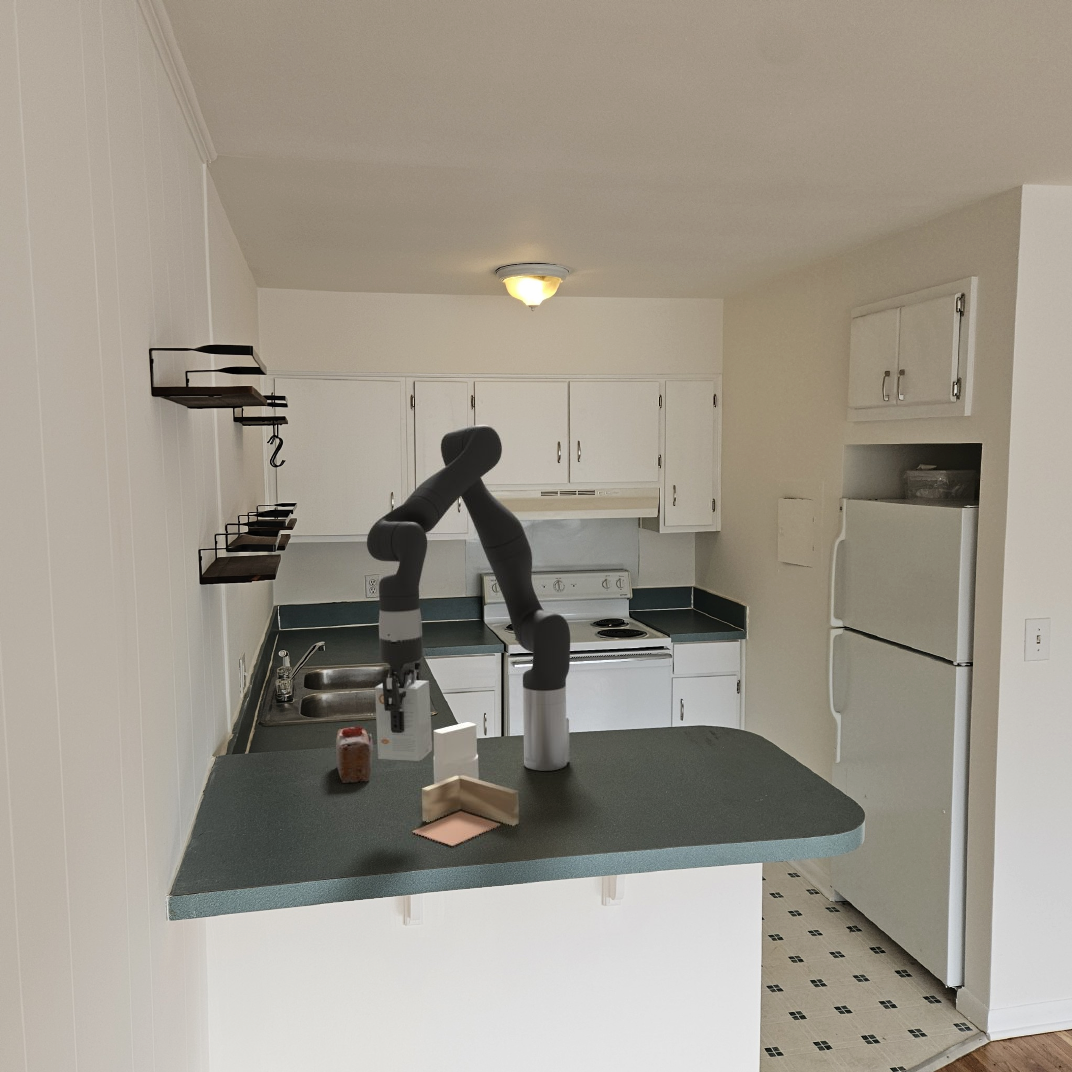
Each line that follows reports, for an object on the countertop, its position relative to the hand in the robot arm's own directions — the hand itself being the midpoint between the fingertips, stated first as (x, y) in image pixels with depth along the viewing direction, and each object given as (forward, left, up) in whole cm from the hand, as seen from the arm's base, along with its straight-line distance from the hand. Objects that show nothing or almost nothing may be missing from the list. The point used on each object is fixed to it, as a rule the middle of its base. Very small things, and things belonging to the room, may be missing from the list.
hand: (404, 726), depth 166 cm
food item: (-13, -31, -19) cm, 38 cm away
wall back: (-12, +8, -18) cm, 24 cm away
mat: (-4, +8, -18) cm, 21 cm away
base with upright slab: (-20, -8, -19) cm, 29 cm away
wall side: (-8, +1, -18) cm, 20 cm away
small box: (0, 0, -5) cm, 5 cm away
